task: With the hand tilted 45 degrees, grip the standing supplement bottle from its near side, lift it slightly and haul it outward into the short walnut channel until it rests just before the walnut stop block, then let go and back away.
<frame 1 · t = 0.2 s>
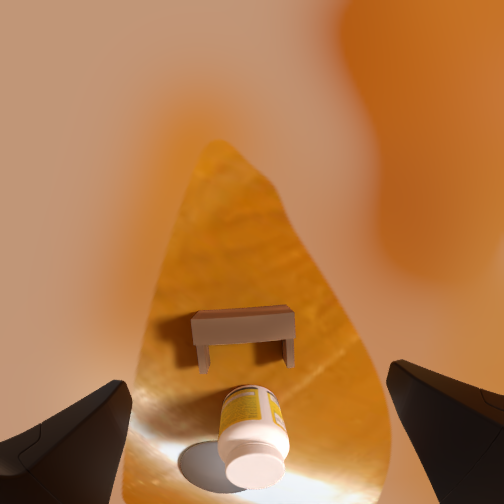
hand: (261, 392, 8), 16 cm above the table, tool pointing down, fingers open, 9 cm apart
slate coaster: (221, 468, 22), on the table
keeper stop: (243, 319, 23), on the table
supplement bottle: (250, 406, 23), on the table
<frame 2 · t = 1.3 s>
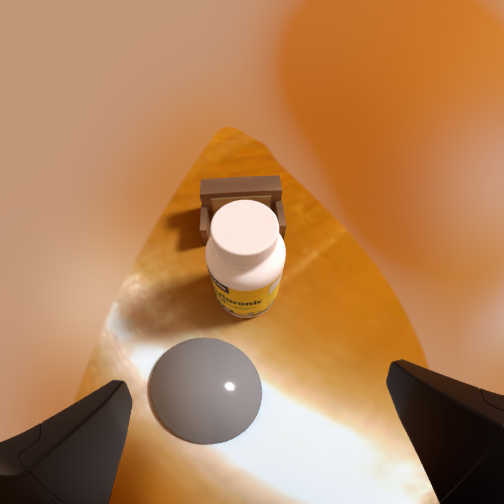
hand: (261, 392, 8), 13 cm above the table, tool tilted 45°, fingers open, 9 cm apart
slate coaster: (205, 391, 19), on the table
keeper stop: (241, 211, 29), on the table
supplement bottle: (246, 291, 24), on the table
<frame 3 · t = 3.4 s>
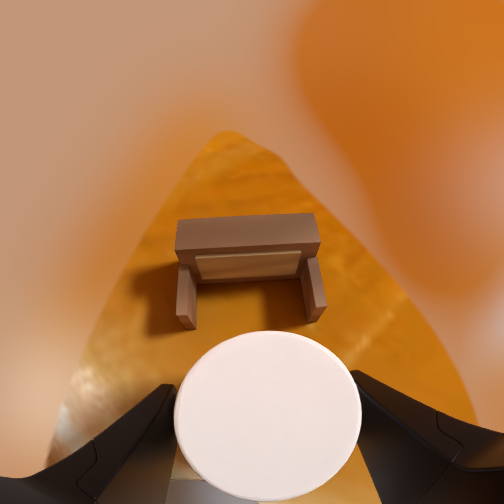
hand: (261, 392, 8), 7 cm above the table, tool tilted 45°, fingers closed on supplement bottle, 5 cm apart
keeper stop: (247, 267, 18), on the table
supplement bottle: (257, 410, 13), on the table, touching gripper
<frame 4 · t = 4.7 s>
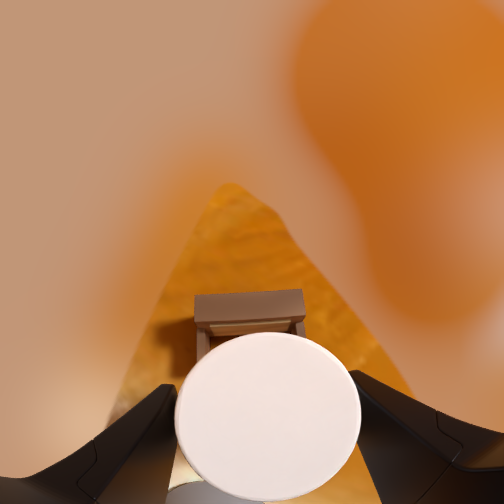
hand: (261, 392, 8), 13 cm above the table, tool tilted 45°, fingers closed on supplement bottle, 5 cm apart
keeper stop: (249, 323, 22), on the table
supplement bottle: (257, 411, 13), point 6 cm above the table, touching gripper
when the fingers open (8 cm above the table, at t = 6.2 s): supplement bottle stays where it is, on the table.
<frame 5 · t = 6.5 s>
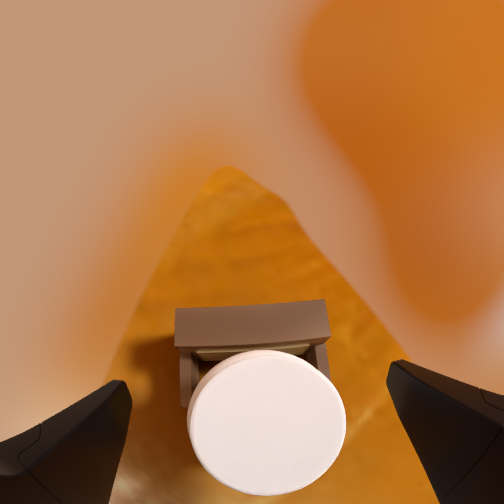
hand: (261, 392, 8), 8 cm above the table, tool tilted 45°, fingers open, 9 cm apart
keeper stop: (251, 343, 16), on the table
supplement bottle: (257, 414, 14), on the table
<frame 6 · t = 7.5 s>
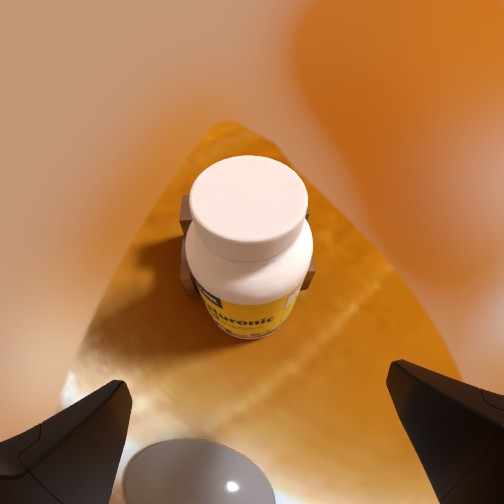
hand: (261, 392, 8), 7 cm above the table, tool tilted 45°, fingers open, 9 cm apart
slate coaster: (197, 501, 10), on the table
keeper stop: (244, 240, 20), on the table
supplement bottle: (249, 301, 17), on the table
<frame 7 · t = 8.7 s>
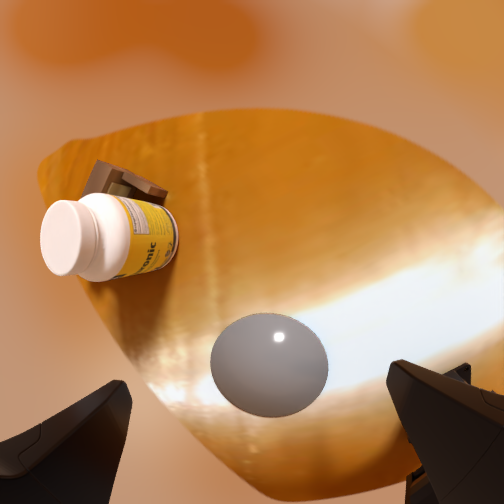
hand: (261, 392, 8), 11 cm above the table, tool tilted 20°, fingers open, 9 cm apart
slate coaster: (268, 368, 19), on the table
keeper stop: (116, 213, 22), on the table
supplement bottle: (153, 237, 21), on the table
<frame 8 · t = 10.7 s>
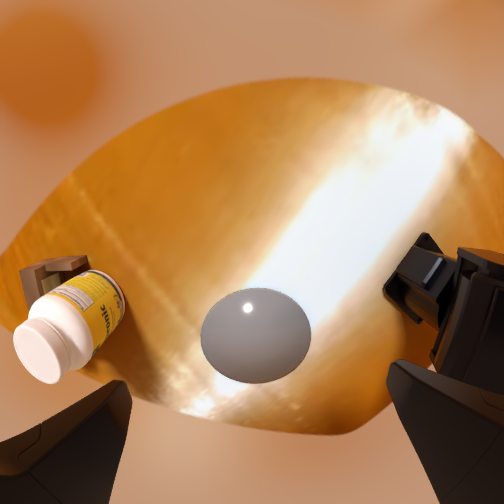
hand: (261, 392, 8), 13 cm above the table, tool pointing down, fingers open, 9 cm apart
slate coaster: (256, 339, 22), on the table
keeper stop: (61, 298, 20), on the table
supplement bottle: (100, 298, 20), on the table
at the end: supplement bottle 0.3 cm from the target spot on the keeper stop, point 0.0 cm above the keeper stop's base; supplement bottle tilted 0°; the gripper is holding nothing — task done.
